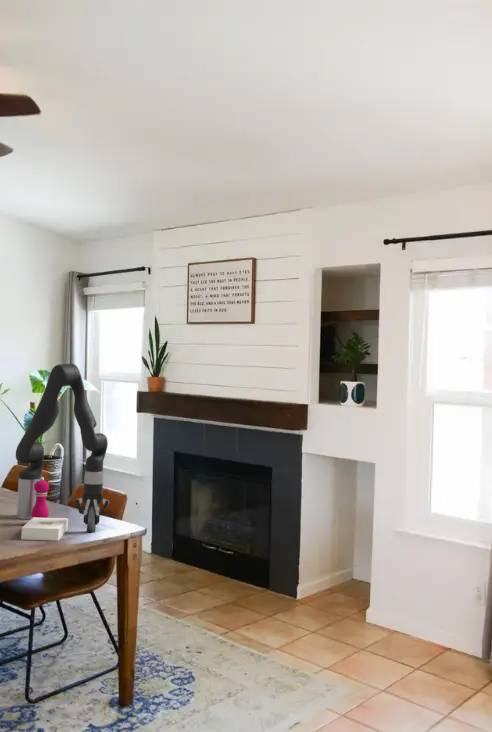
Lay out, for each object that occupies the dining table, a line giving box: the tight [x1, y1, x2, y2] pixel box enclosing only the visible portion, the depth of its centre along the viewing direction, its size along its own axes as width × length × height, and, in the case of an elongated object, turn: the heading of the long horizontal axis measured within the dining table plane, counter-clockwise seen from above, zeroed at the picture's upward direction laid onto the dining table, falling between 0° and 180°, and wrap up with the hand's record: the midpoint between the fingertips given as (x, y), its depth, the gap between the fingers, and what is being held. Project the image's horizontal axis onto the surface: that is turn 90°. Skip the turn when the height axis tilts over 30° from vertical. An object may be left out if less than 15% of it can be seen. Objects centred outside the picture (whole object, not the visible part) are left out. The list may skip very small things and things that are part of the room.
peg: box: [85, 507, 97, 534], centre depth 294 cm, size 4×4×10 cm
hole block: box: [20, 517, 69, 542], centre depth 285 cm, size 20×14×4 cm
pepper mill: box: [31, 476, 50, 518], centre depth 303 cm, size 7×7×20 cm
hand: (91, 524), depth 293 cm, fingers closed on peg, 3 cm apart
